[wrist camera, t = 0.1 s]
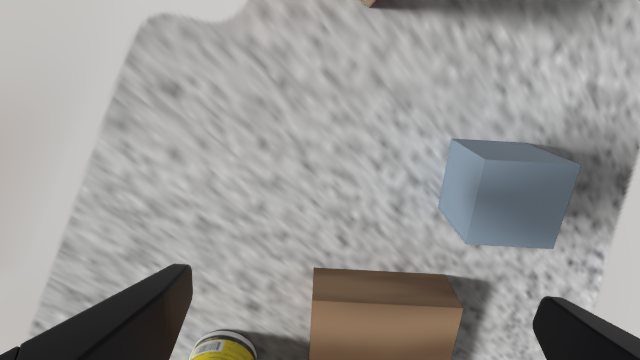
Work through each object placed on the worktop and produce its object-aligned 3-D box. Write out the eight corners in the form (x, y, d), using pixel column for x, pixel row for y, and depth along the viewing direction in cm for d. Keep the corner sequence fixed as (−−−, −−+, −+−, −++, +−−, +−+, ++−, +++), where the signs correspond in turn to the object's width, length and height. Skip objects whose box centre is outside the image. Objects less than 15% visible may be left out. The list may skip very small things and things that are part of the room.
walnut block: (423, 368, 29) (437, 414, 25) (308, 362, 29) (306, 407, 25) (443, 271, 26) (463, 308, 22) (314, 265, 26) (312, 300, 22)
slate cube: (507, 211, 24) (553, 249, 19) (437, 207, 24) (465, 244, 19) (526, 142, 22) (581, 164, 17) (450, 138, 22) (485, 159, 17)
